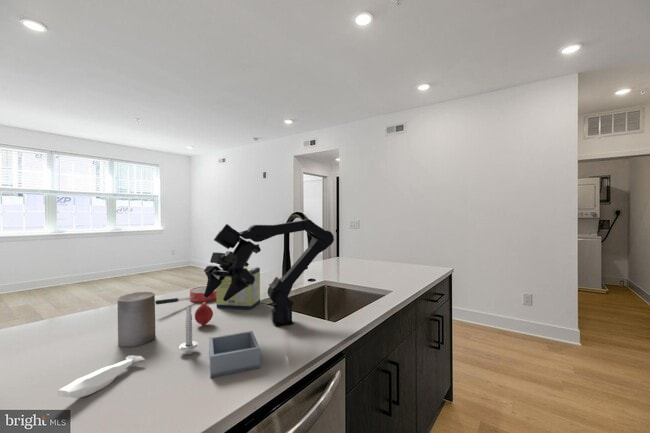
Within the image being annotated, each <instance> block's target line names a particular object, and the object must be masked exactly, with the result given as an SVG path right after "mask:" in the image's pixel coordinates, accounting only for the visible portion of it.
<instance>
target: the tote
mask: <svg viewBox="0 0 650 433" xmlns="http://www.w3.org/2000/svg"><path fill="white" fill-rule="evenodd" d="M208 341H209V342H208V356H209V359H208V360H209V376H210V378H211V379H212V378H217V377H222V376H226V375H232V374H237V373H242V372H246V371H251V370H255V369H260V368H261V348H260V345H259V342H258V340H257V338H256V336H255V333H254V331H253V330H250V331H244V332H238V333H237V332H236V333H231V334H230V333H229V334H224V335H219V336H218V335H217V336H212V337H209V338H208Z"/></svg>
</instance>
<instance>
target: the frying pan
mask: <svg viewBox="0 0 650 433" xmlns="http://www.w3.org/2000/svg"><path fill="white" fill-rule="evenodd" d="M206 286H207V285H203V286H196V287H193V288H191V289H189V296H188V297H181V298H180V297H174V298H173V297H172V298H167V299H159V300H155V305H157V306H158V305H163V304H164V305H165V304H173V303H178V302H182V301H190V302H191V303H195V304H196V303H199V304H201V303H202V304H203V303H204V302H206V303H210V302H214V301H217V288H216V289H215V290H214V292H213V293H212V294H211V295H209V296H208V297H207V298H206V297H204V294H205V290H206Z"/></svg>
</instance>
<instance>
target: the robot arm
mask: <svg viewBox="0 0 650 433" xmlns="http://www.w3.org/2000/svg"><path fill="white" fill-rule="evenodd" d="M303 231H305V232H306V233H307V234H308V235H309V236H311V240H310V242H309V245H308V246H307V248H306V249H305V251H303V253H302V254H301V255H300V256H299V257H298V259H296V261H295V262H294V263H293V265H292V266H291V267H290V268H289V270H288V271H287V272H286V273H285V274H284V275H283V276H281V277H280V278H279V277H277V276H275V278H274V279H273V281H271V283H270V284H268V286H269V287H268V289H267V295H268V297H269V299H270V300H271V302H272V303H273V305H272V309H271V322H272V323H273V325H274V326H275V327H281V326H288V325H293V324H294V321H293V305H294V301H293V300H292V299H291V298H290V297H289V295H290V293H291V291H292V288H293V286H294V284H295V282H296V281H297V280H298V279H299V278H300V276H301V275H302V274H303V273H304V272H305V270H306V269H307V268H309V266H310V264H312V262H313V261H314V260H315V258H316V257H317V256H318V255H319V254H321V253H322V252H324V251H325V250H327V249H328V248H329V247H331V245H332V244H333V243H334V241H335V238H334V234H333V233H332V231H330V230H326V229H324V228H322V227H321V226H319V225H318V224H316V223H315V222H314V221H312V220H311V219H309V218H307V219H306V218H305V219H301V220H297V221H296V220H295V221H290V222H284V223H277V224H252V225H250V226H249V227H248V228H247V229H246V230H243V231H240V232H239V231H237V230H236V229H234V228H232V227H231V225H230V224H228V223H226V224H225V225H224V226H223V227H222V229H220V230H219V232H218V233H217V234H216V235H215V236H214V239H213V241H215V243H217V244H219V245H221V246H222V247H223V248H225V249H227V250H228V251H226V252H225V253H224V252H217V251H216V252H212V253H211V254H212V255H211V257H210V261H209V263H211V265H207V266H206V267H205V268H204V271H203V272H204V274H205V276H206V277H207V281H206V282H207V284H206V285H205V286H206V290H205V294H204V297H206V298H207V297H208V296H209V295H211V294H212V293H213V292H214V290H215V289H216V288H217V287H218V286H219V285H220V284H221V283H222V282H221V281H222V280H224V278H225V277H229V278H231V284H230V286H229V288H228V290H227V292H226V294H225V296H224V298H223V300H224V301H227V300H229V299H230V298H231V297H233V296H234V295H235V294H237V293H238V292H240V291H241V290H243V289H244V288H246V287H249V285H253V283H254V281H255V276H254V275H253V274H252V273H251V272H250V271H249V270H247V269H245V268H244V267H249V265H250V264H249V263H248V261H249V259H250V258H251V257H252V254H253V253H255V254H258V253H260V252H261V251H262V249H261V247H260V244H259V242H263V241H266V240H268V239H270V238H274V237H276V236H280V235H285V234H286V235H287V234H291V233H296V232H297V233H298V232H303ZM252 241H253V242H254V243H253V242H252ZM255 243H258V244H255ZM230 248H231V249H234V250H233V251H229V249H230ZM213 263H214V264H216V265H212V264H213ZM217 265H219V266H217ZM221 269H223V271H222V270H221Z"/></svg>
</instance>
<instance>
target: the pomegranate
mask: <svg viewBox="0 0 650 433" xmlns="http://www.w3.org/2000/svg"><path fill="white" fill-rule="evenodd" d="M213 315H214V312H213V309H212V308H211V307H210V306H209V305H207V302H203V303H202V304H201V305H200V306H198V307H197V309H196V310H195V313H194V319H195V322H196V323H197V324H198V325H201V326H203V327H204V326H206V325H207V324H208V323H209V322H210V321H211V320H212V318H213Z"/></svg>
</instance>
